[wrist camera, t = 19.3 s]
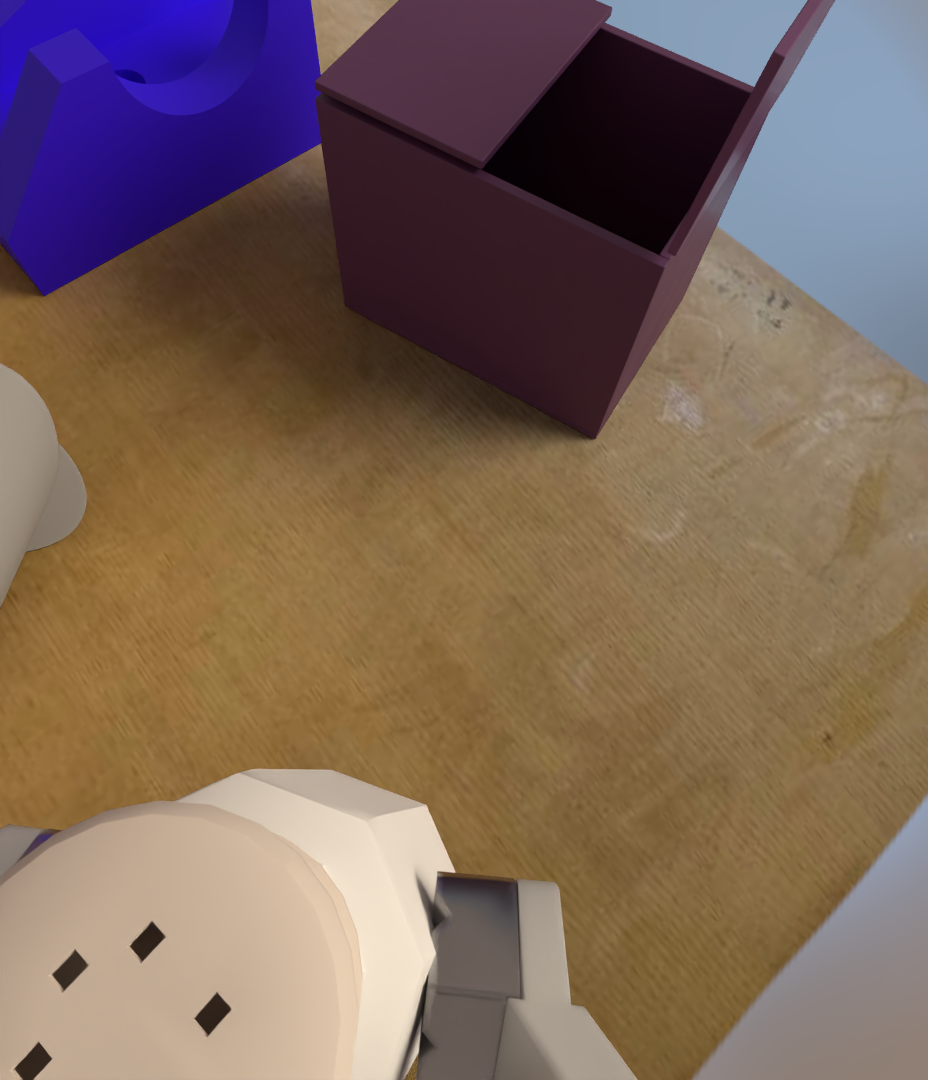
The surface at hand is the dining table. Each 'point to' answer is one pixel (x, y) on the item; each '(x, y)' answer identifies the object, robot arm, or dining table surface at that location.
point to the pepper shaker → (224, 936)
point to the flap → (756, 109)
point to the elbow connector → (32, 478)
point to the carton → (522, 189)
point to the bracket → (141, 118)
